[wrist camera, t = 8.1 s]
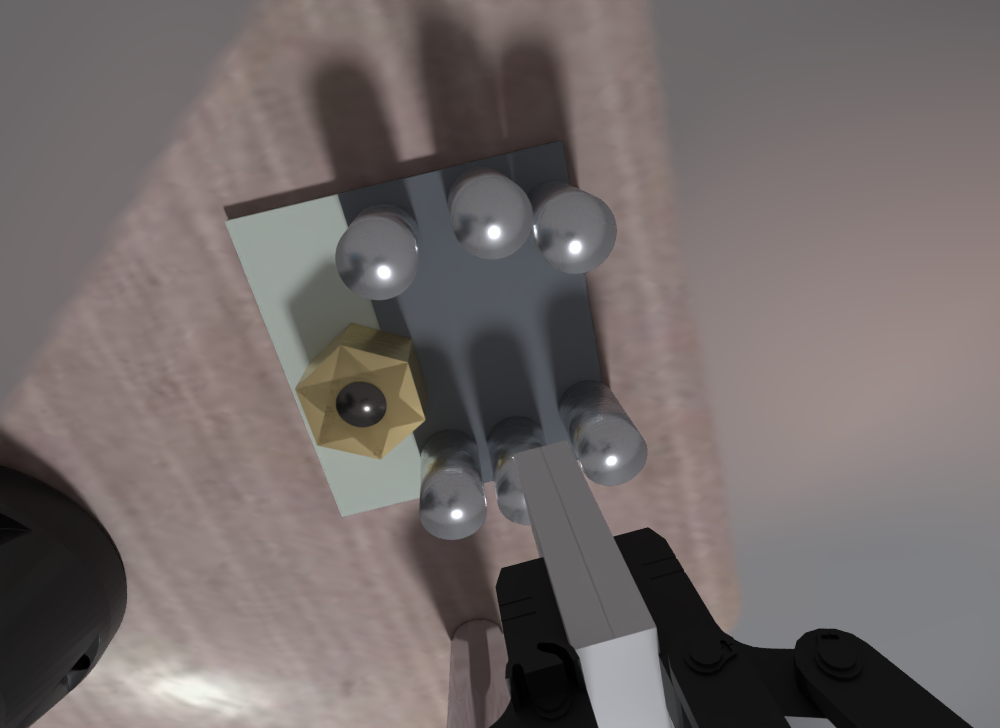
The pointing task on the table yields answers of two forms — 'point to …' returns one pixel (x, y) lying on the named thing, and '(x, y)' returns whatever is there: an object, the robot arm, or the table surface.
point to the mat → (427, 318)
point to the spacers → (494, 235)
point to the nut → (364, 392)
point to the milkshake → (477, 676)
